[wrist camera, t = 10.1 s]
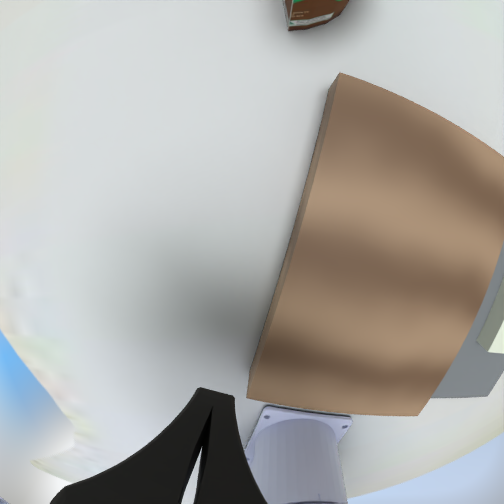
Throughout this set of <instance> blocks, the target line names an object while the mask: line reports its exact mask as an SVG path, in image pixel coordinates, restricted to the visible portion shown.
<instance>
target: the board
mask: <svg viewBox="0 0 504 504" xmlns="http://www.w3.org/2000/svg"><path fill="white" fill-rule="evenodd" d="M503 241H504V157H503V156H502V155H501V154H499V153H498V152H496V151H495V150H494V149H492V148H491V147H489V146H488V145H487V144H485V143H484V142H482V141H481V140H479V139H478V138H476V137H475V136H473V135H471V134H470V133H468V132H467V131H465V130H464V129H462V128H460V127H459V126H457V125H455V124H454V123H452V122H450V121H448V120H447V119H445V118H443V117H441V116H439V115H438V114H436V113H434V112H432V111H430V110H428V109H426V108H424V107H422V106H420V105H418V104H416V103H414V102H412V101H410V100H408V99H406V98H404V97H402V96H399V95H397V94H395V93H393V92H390V91H388V90H386V89H383V88H381V87H378V86H376V85H373V84H371V83H368V82H366V81H363V80H360V79H358V78H355V77H352V76H349V75H346V74H343V73H339V74H338V76H337V77H336V79H335V80H334V82H333V83H332V85H331V87H330V88H329V91H328V96H327V100H326V104H325V108H324V112H323V117H322V121H321V125H320V129H319V133H318V137H317V141H316V145H315V149H314V153H313V157H312V161H311V165H310V168H309V172H308V176H307V180H306V184H305V187H304V191H303V195H302V199H301V202H300V206H299V210H298V213H297V217H296V220H295V224H294V228H293V231H292V235H291V238H290V242H289V245H288V249H287V252H286V256H285V259H284V262H283V266H282V269H281V273H280V276H279V279H278V283H277V286H276V289H275V293H274V296H273V299H272V303H271V306H270V309H269V312H268V316H267V319H266V322H265V325H264V328H263V332H262V335H261V338H260V341H259V344H258V347H257V350H256V353H255V357H254V360H253V363H252V366H251V369H250V372H249V380H248V389H247V396H246V398H249V399H253V400H258V401H263V402H268V403H273V404H279V405H285V406H291V407H297V408H304V409H311V410H319V411H327V412H336V413H347V414H360V415H378V416H418V415H419V413H420V412H421V411H422V409H423V408H424V406H425V405H426V404H427V402H428V401H429V399H430V398H431V396H432V395H433V393H434V392H435V390H436V389H437V387H438V386H439V384H440V382H441V381H442V379H443V378H444V376H445V374H446V373H447V371H448V369H449V368H450V366H451V364H452V363H453V361H454V359H455V357H456V355H457V354H458V352H459V350H460V348H461V346H462V344H463V342H464V340H465V338H466V337H467V335H468V332H469V330H470V328H471V326H472V324H473V322H474V320H475V318H476V316H477V313H478V311H479V309H480V306H481V304H482V302H483V299H484V297H485V294H486V292H487V289H488V287H489V284H490V281H491V279H492V276H493V273H494V270H495V267H496V264H497V261H498V258H499V255H500V252H501V248H502V245H503Z"/></svg>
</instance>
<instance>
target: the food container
mask: <svg viewBox="0 0 504 504" xmlns="http://www.w3.org/2000/svg"><path fill="white" fill-rule="evenodd" d="M348 2H349V0H283V5H284V10H285V16H286V21H287V27H288V31H292V30H305V29H309V28H312V27H316V26H319V25H323V24H326V23H328V22H329V21H331V20H332V19H334V18H335V17H337V16H339V15H340V14H341V12H342V11H343V9H344V8H345V6H346V5H347V3H348Z"/></svg>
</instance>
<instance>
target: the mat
mask: <svg viewBox="0 0 504 504" xmlns="http://www.w3.org/2000/svg"><path fill="white" fill-rule="evenodd" d="M503 277H504V241H503V245H502V248H501V252H500V255H499V258H498V261H497V264H496V267H495V270H494V273H493V276H492V279H491V281H490V284H489V287H488V289H487V292H486V294H485V297H484V299H483V302H482V304H481V306H480V309H479V311H478V313H477V316H476V318H475V320H474V322H473V324H472V326H471V328H470V330H469V332H468V335H467V337H466V338H465V340H464V342H463V344H462V346H461V348H460V350H459V352H458V354H457V355H456V357H455V359H454V361H453V363H452V364H451V366H450V368H449V369H448V371H447V373H446V374H445V376H444V378H443V379H442V381H441V382H440V384H439V386H438V387H437V389H436V390H435V392H434V393H433V395H432V396H431V398H468V397H486V396H488V395H489V393H490V392H491V390H492V389H493V387H494V386H495V384H496V382H497V381H498V379H499V378H500V376H501V374H502V373H503V371H504V354H503V353H493V352H487V351H486V350H485V349H484V348H483V347H482V346H481V345H480V344H479V343H478V342H477V341H476V340H477V338H478V336H479V334H480V332H481V330H482V328H483V326H484V324H485V322H486V319H487V317H488V315H489V313H490V310H491V308H492V306H493V303H494V301H495V298H496V296H497V293H498V291H499V288H500V286H501V283H502V280H503Z"/></svg>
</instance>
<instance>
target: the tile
mask: <svg viewBox="0 0 504 504" xmlns="http://www.w3.org/2000/svg"><path fill="white" fill-rule="evenodd" d="M476 341H477V342H478V343H479V344H480V345H481V346H482V347H483V348H484V349H485V350H486V351H487V352H493V353H503V354H504V277H503V280H502V283H501V286H500V288H499V291H498V293H497V296H496V298H495V301H494V303H493V306H492V308H491V310H490V313H489V315H488V317H487V319H486V322H485V324H484V326H483V328H482V330H481V332H480V334H479V336H478V338H477V340H476Z"/></svg>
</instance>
